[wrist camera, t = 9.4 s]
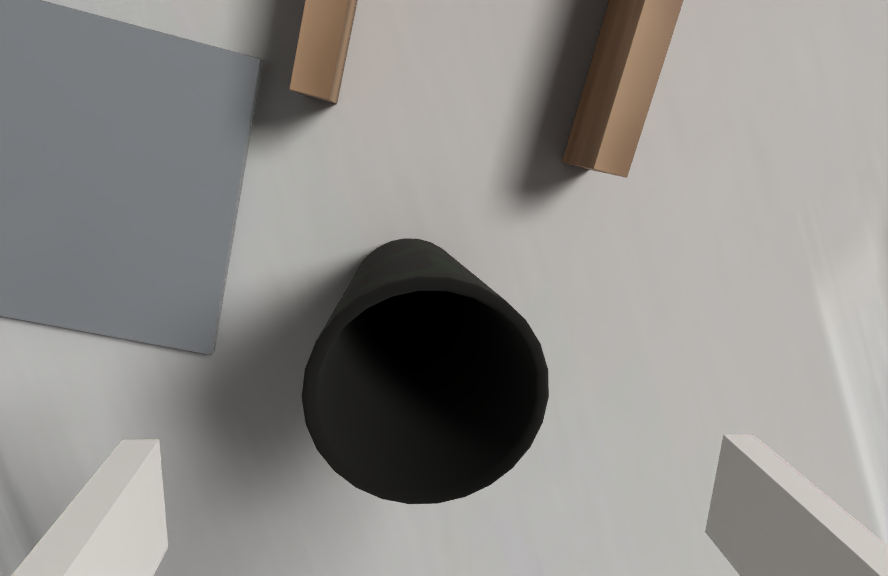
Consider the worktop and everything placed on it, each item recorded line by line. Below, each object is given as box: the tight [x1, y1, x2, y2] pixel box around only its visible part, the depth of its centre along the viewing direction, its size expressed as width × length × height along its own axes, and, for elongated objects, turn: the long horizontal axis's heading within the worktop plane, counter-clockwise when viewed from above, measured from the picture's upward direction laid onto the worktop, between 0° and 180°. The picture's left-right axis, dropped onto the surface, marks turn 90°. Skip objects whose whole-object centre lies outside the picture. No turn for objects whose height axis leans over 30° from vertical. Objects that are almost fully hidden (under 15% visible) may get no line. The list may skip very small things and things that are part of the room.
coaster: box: [0, 0, 263, 355], centre depth 27 cm, size 14×14×1 cm
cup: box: [302, 239, 549, 504], centre depth 24 cm, size 8×8×12 cm
